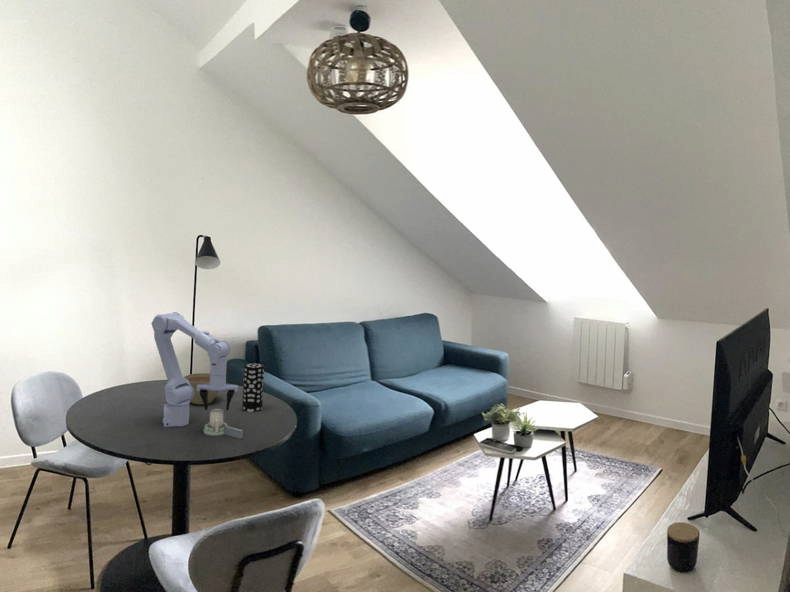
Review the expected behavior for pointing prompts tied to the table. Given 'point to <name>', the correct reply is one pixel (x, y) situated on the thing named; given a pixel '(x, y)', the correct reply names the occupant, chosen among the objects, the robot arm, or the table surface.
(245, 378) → the spotted tube
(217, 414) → the cream round-ended cylinder
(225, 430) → the turntable
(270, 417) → the table surface
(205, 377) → the planter bowl
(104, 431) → the table surface
